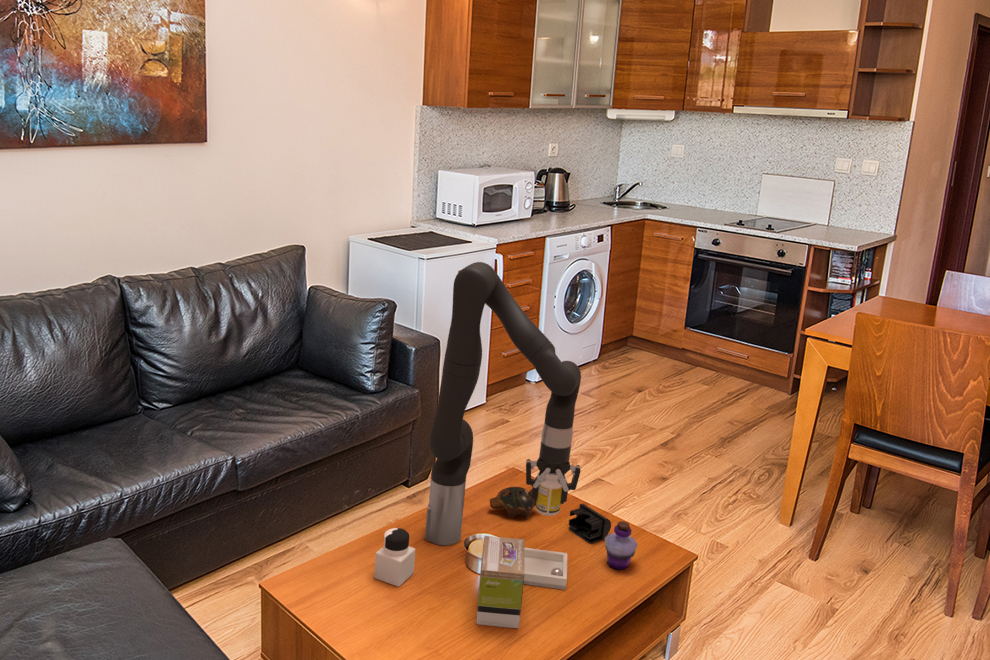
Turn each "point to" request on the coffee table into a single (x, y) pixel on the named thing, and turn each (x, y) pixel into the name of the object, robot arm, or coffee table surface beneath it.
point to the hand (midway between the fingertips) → (548, 501)
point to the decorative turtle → (514, 501)
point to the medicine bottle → (395, 558)
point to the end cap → (589, 524)
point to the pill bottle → (549, 495)
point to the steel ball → (557, 572)
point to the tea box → (501, 582)
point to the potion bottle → (620, 546)
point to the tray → (544, 568)
